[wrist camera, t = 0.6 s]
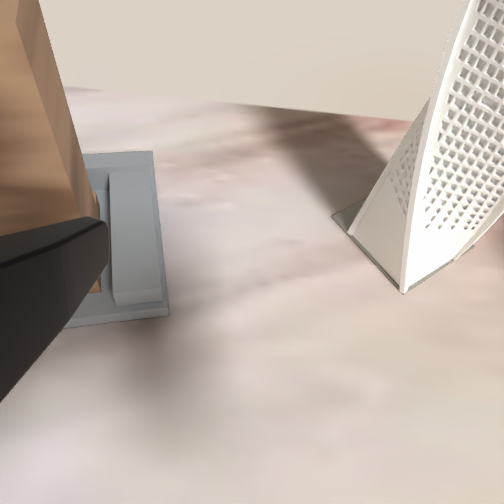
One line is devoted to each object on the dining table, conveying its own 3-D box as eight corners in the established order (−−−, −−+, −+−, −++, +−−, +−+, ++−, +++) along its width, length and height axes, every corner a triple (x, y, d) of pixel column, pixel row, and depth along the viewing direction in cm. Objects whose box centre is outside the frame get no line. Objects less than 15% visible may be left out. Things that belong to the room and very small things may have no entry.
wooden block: (100, 207, 28) (28, -57, 16) (101, 292, 24) (11, 41, 12) (-6, 215, 26) (-171, -64, 14) (-19, 305, 23) (-245, 44, 11)
